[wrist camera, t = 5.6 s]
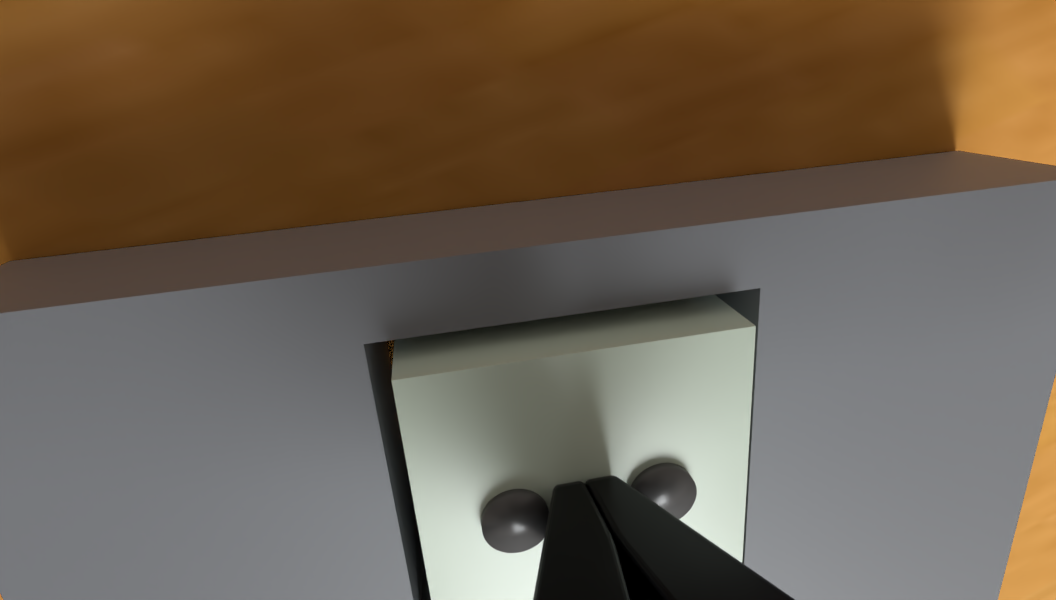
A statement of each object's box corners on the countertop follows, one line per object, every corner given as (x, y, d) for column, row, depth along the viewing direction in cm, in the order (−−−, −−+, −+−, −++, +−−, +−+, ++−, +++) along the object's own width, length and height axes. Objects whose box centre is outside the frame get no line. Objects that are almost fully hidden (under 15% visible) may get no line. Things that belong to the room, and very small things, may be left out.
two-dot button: (436, 537, 11) (442, 670, 9) (396, 303, 10) (391, 387, 7) (675, 493, 12) (745, 605, 9) (677, 265, 10) (762, 330, 8)
